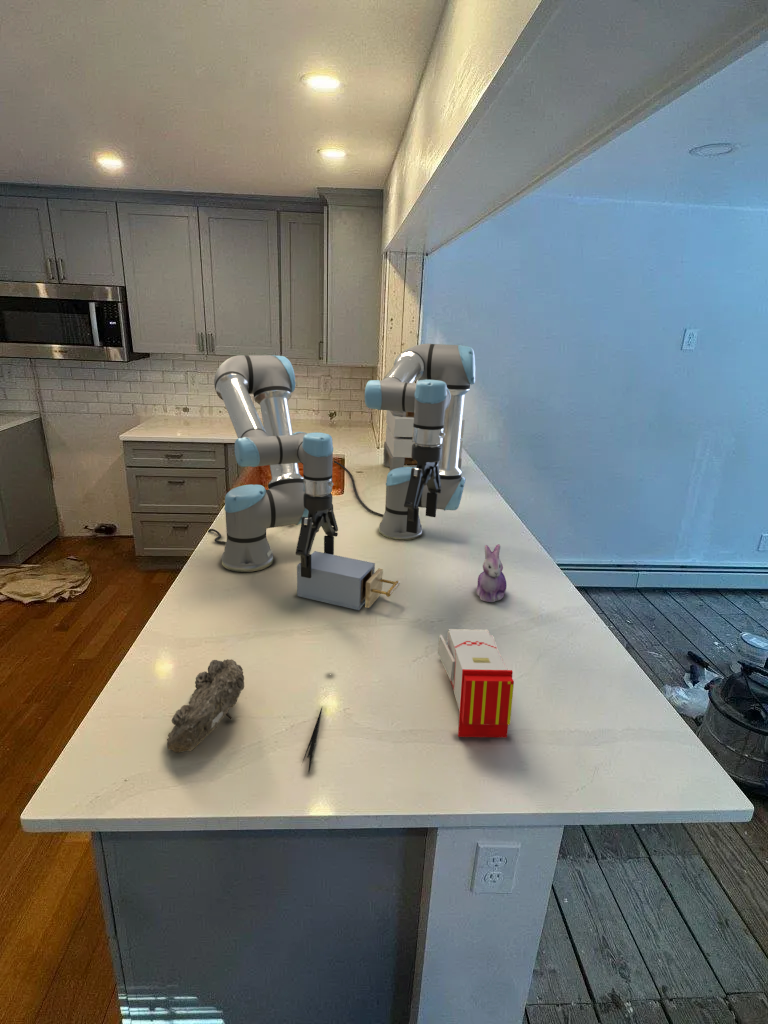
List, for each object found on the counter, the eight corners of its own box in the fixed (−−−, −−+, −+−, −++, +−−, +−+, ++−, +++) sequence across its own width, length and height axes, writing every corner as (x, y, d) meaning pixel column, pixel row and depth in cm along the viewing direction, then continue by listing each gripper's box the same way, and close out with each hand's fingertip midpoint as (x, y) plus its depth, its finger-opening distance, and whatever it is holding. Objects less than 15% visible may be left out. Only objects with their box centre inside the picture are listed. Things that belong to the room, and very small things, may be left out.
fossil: (192, 660, 117) (244, 628, 112) (224, 691, 120) (276, 661, 115) (142, 746, 98) (202, 712, 93) (182, 779, 101) (242, 748, 96)
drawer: (400, 597, 154) (401, 572, 152) (388, 612, 146) (389, 587, 144) (325, 580, 161) (326, 557, 159) (310, 594, 153) (310, 570, 151)
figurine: (488, 606, 153) (494, 555, 148) (466, 590, 161) (471, 541, 156) (515, 600, 157) (522, 550, 152) (493, 584, 166) (498, 536, 160)
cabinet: (373, 593, 158) (374, 563, 154) (359, 610, 148) (360, 578, 145) (314, 580, 163) (314, 550, 160) (297, 596, 154) (296, 565, 151)
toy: (488, 613, 130) (523, 677, 101) (484, 667, 133) (517, 744, 104) (435, 612, 130) (455, 676, 101) (432, 666, 133) (451, 743, 103)
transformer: (382, 463, 289) (386, 382, 275) (445, 464, 293) (451, 384, 279) (390, 482, 257) (394, 392, 243) (460, 483, 261) (468, 394, 247)
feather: (331, 679, 122) (336, 673, 122) (307, 777, 96) (313, 769, 95) (324, 675, 122) (329, 669, 121) (298, 772, 95) (304, 764, 95)
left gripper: (308, 508, 136) (308, 588, 143) (350, 482, 158) (349, 553, 165) (280, 504, 138) (282, 582, 145) (326, 479, 160) (325, 548, 167)
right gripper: (423, 456, 129) (417, 542, 136) (456, 437, 150) (450, 512, 157) (393, 451, 131) (388, 536, 139) (430, 433, 153) (425, 507, 160)
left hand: (317, 567), depth 155 cm, fingers open, 13 cm apart
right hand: (421, 524), depth 148 cm, fingers open, 13 cm apart
